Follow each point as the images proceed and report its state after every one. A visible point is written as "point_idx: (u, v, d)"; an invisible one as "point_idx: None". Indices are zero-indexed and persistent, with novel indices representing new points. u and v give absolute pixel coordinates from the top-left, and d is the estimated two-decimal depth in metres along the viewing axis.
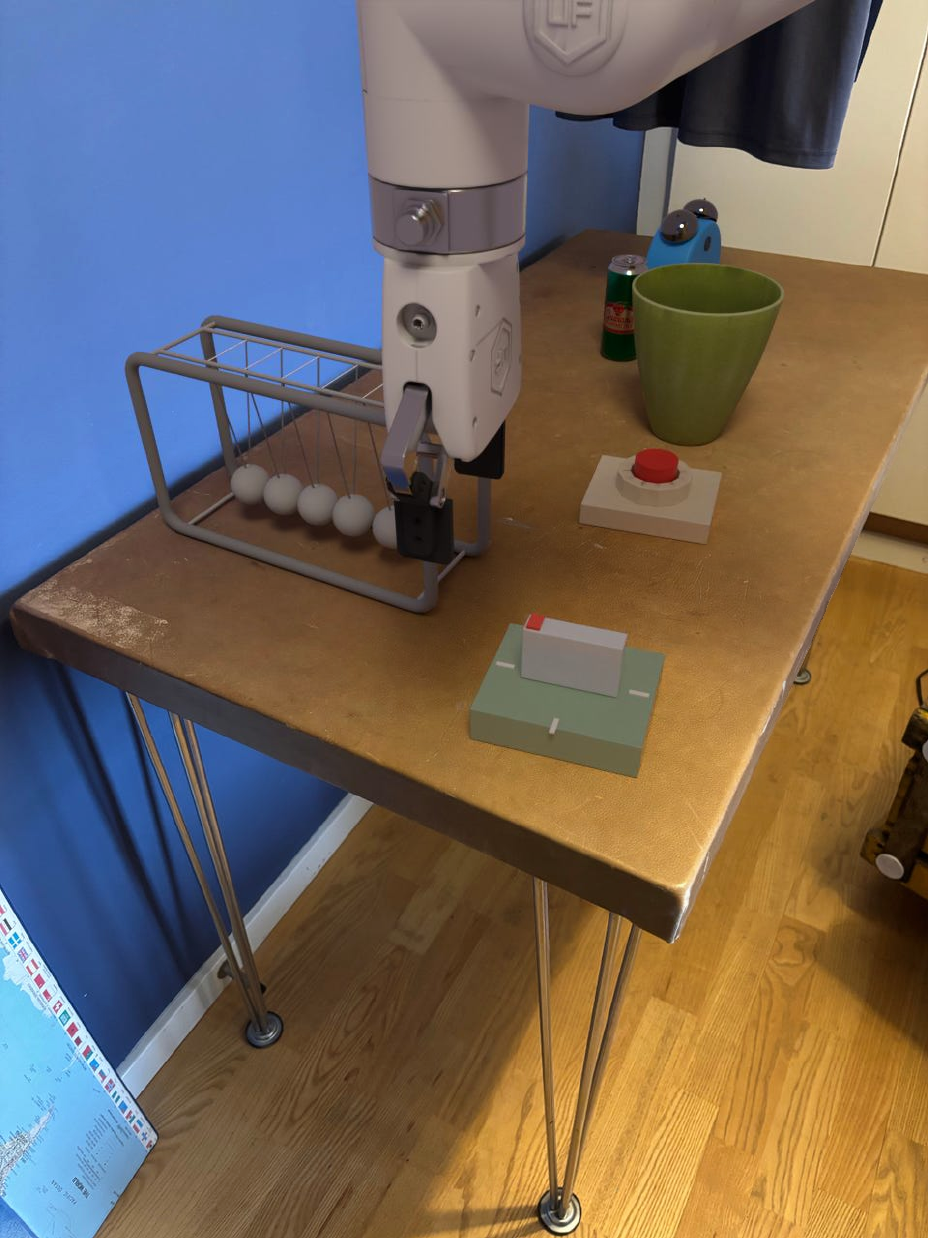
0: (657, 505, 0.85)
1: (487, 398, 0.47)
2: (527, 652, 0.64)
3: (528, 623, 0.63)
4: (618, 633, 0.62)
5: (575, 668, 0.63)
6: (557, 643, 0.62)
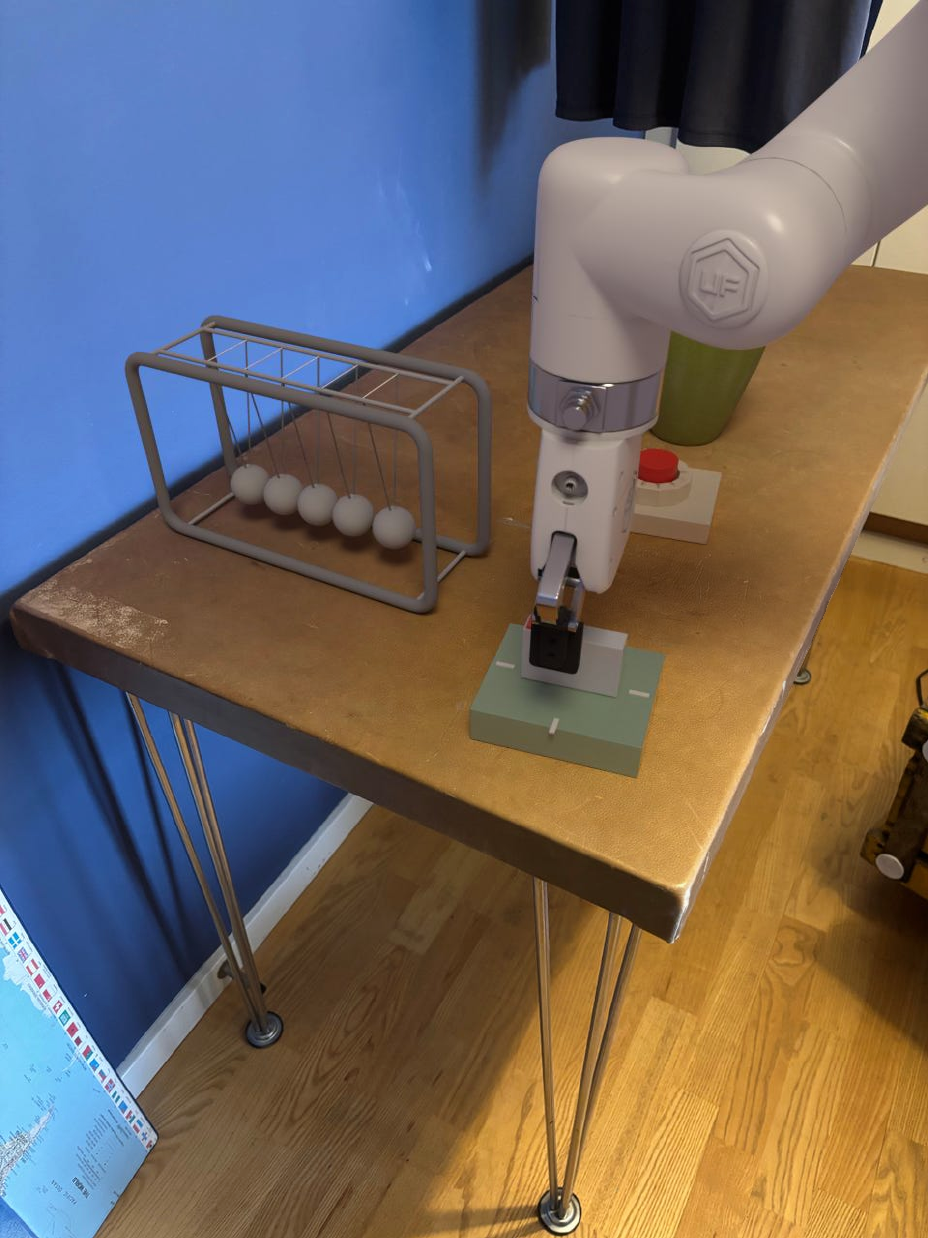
0: (657, 505, 0.85)
1: (619, 539, 0.54)
2: (527, 652, 0.64)
3: (528, 623, 0.63)
4: (618, 633, 0.62)
5: None
6: None
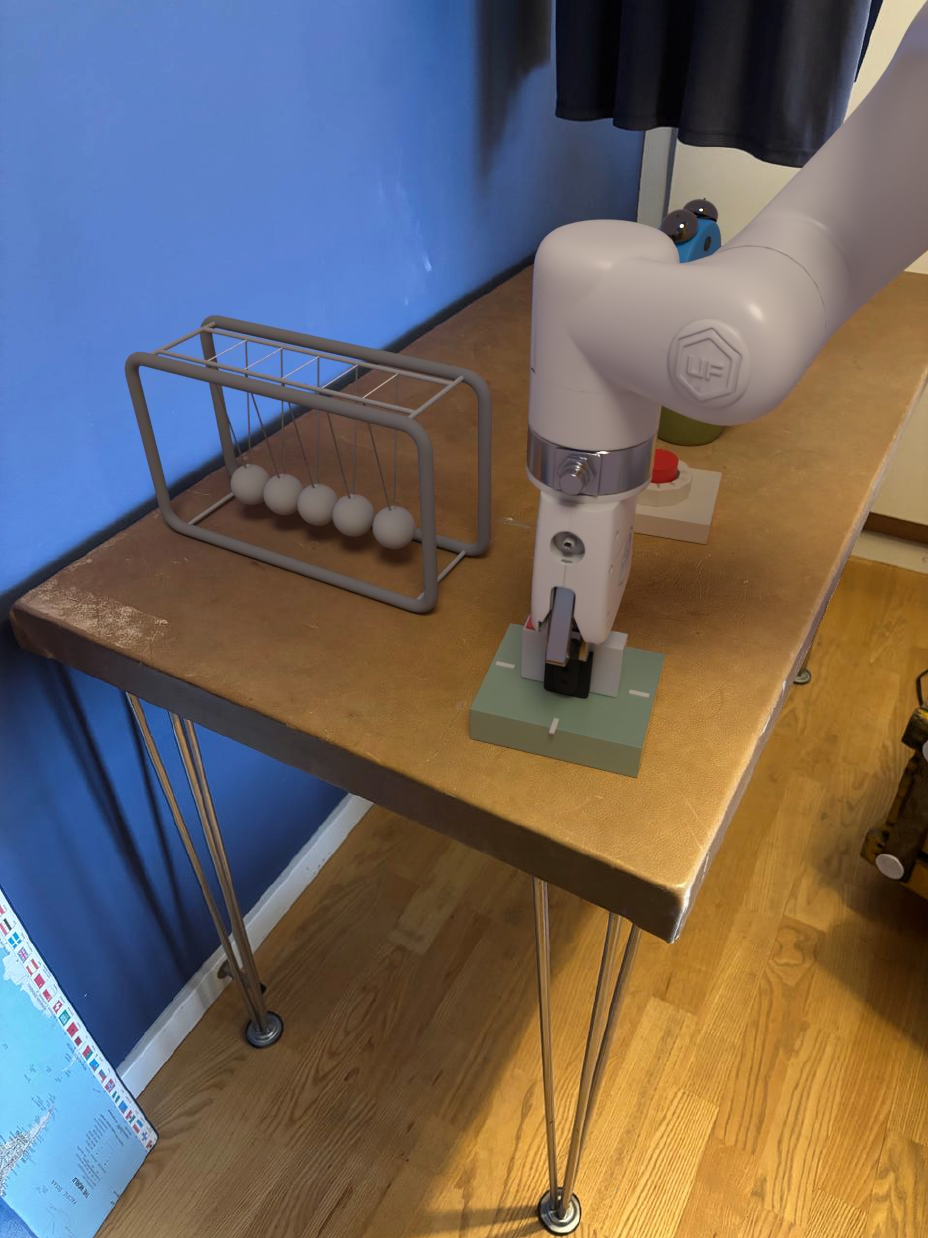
0: (657, 505, 0.85)
1: (616, 593, 0.56)
2: (527, 652, 0.64)
3: (528, 623, 0.63)
4: (618, 633, 0.62)
5: None
6: None
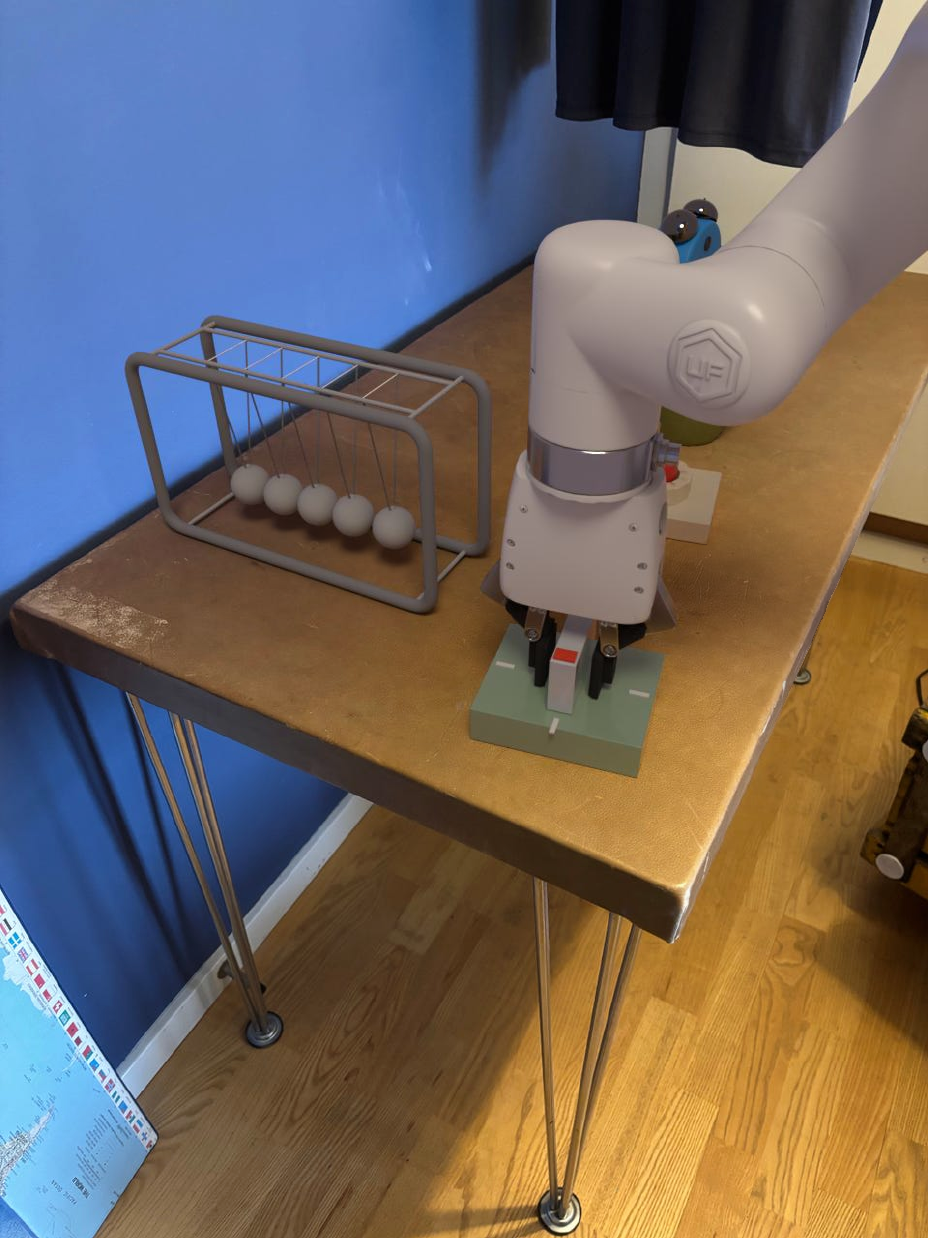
0: None
1: None
2: (575, 684, 0.61)
3: (570, 659, 0.60)
4: None
5: (586, 658, 0.64)
6: (584, 649, 0.62)
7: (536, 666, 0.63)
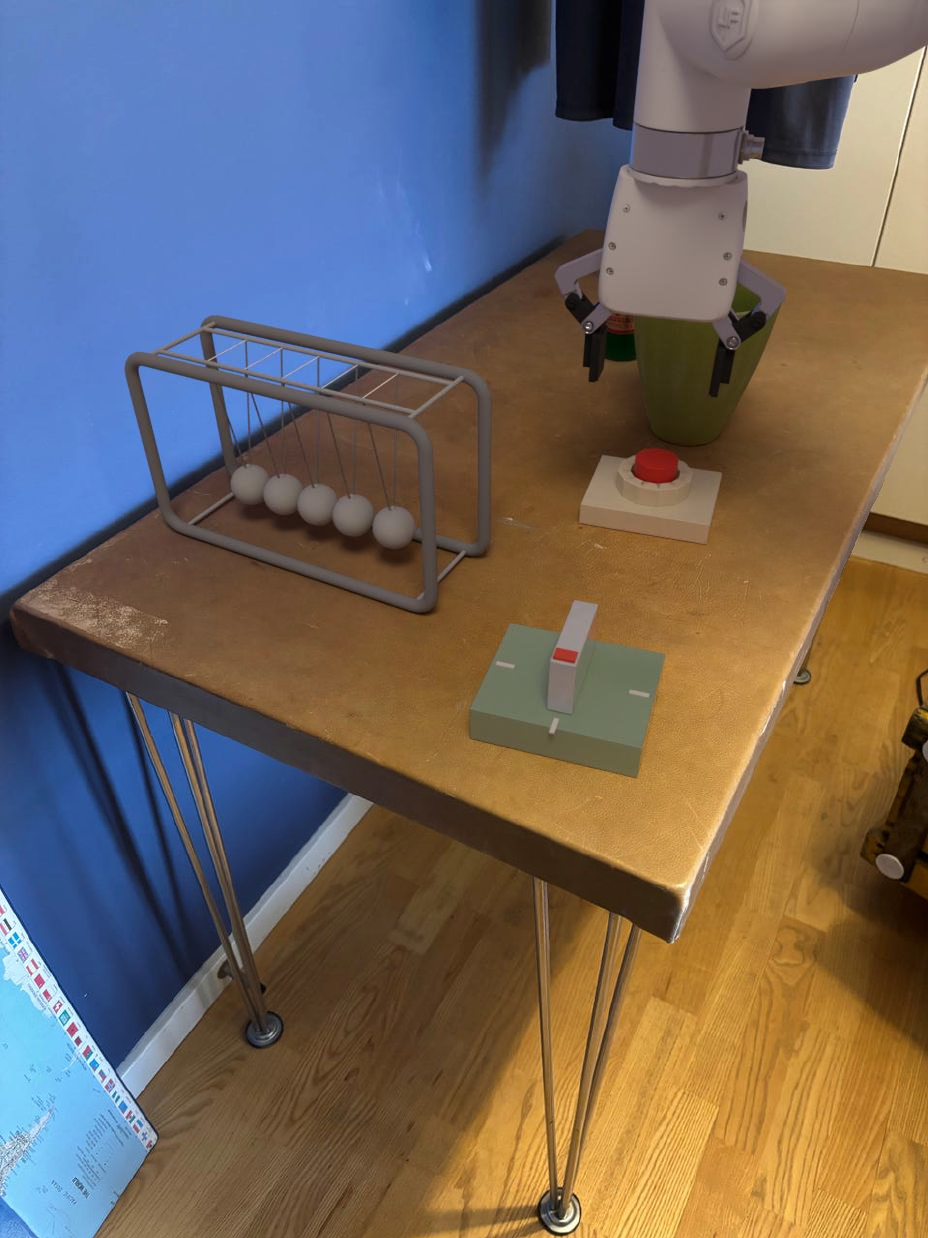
0: (657, 505, 0.85)
1: None
2: (575, 684, 0.61)
3: (570, 659, 0.60)
4: (575, 604, 0.65)
5: (586, 658, 0.64)
6: (584, 649, 0.62)
7: (591, 359, 0.73)
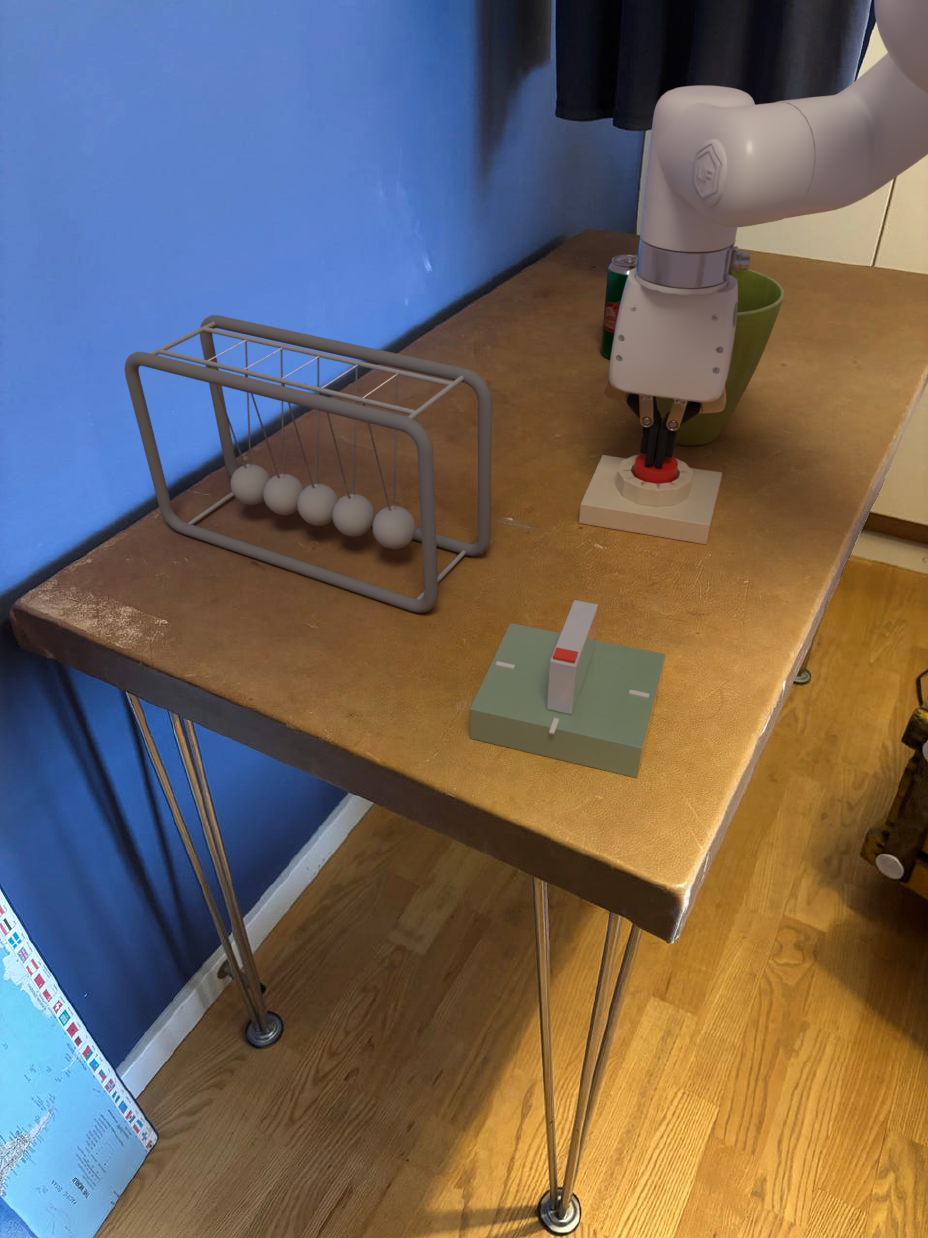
0: (657, 505, 0.85)
1: None
2: (575, 684, 0.61)
3: (570, 659, 0.60)
4: (575, 604, 0.65)
5: (586, 658, 0.64)
6: (584, 649, 0.62)
7: (648, 448, 0.84)
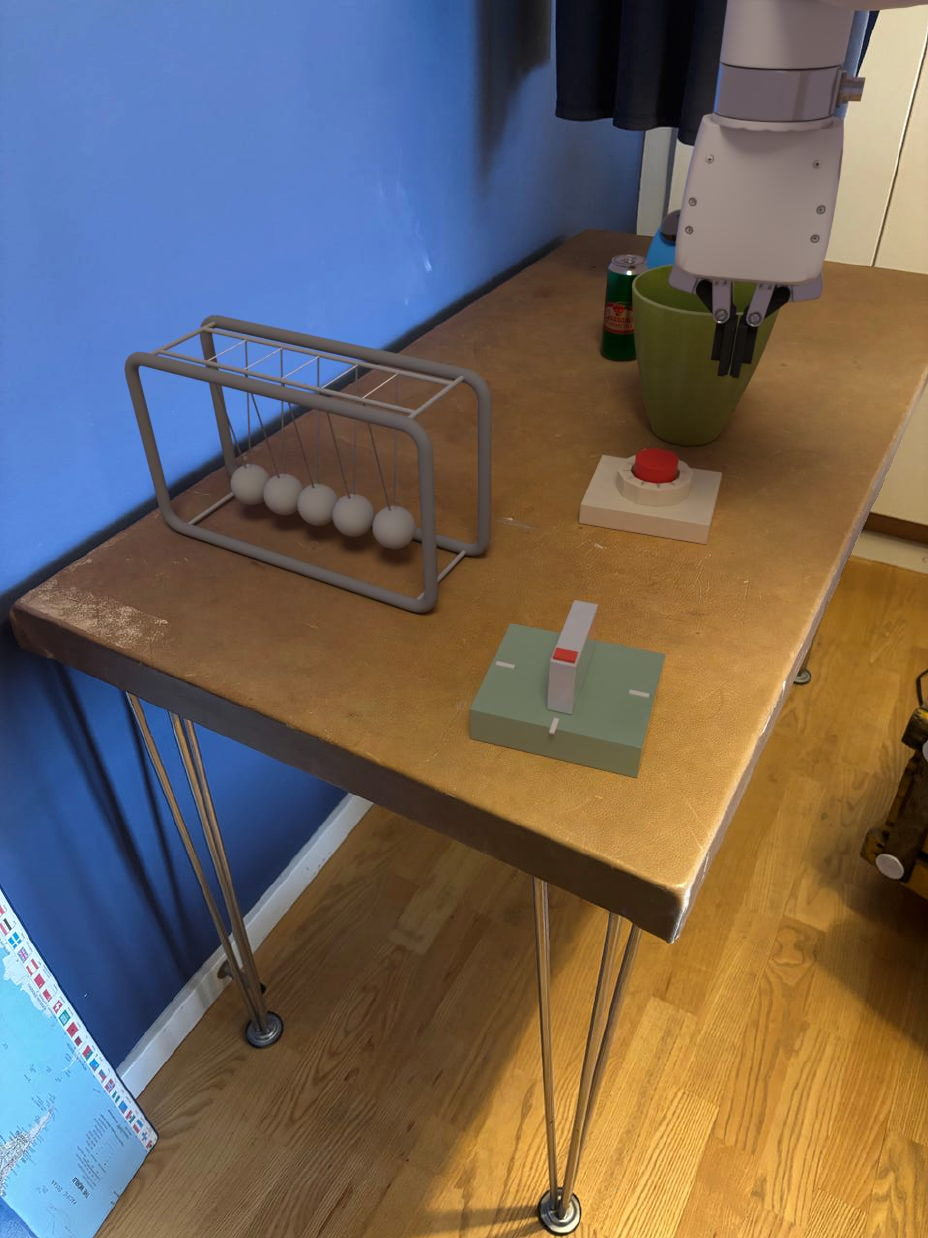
0: (657, 505, 0.85)
1: None
2: (575, 684, 0.61)
3: (570, 659, 0.60)
4: (575, 604, 0.65)
5: (586, 658, 0.64)
6: (584, 649, 0.62)
7: (722, 351, 0.67)
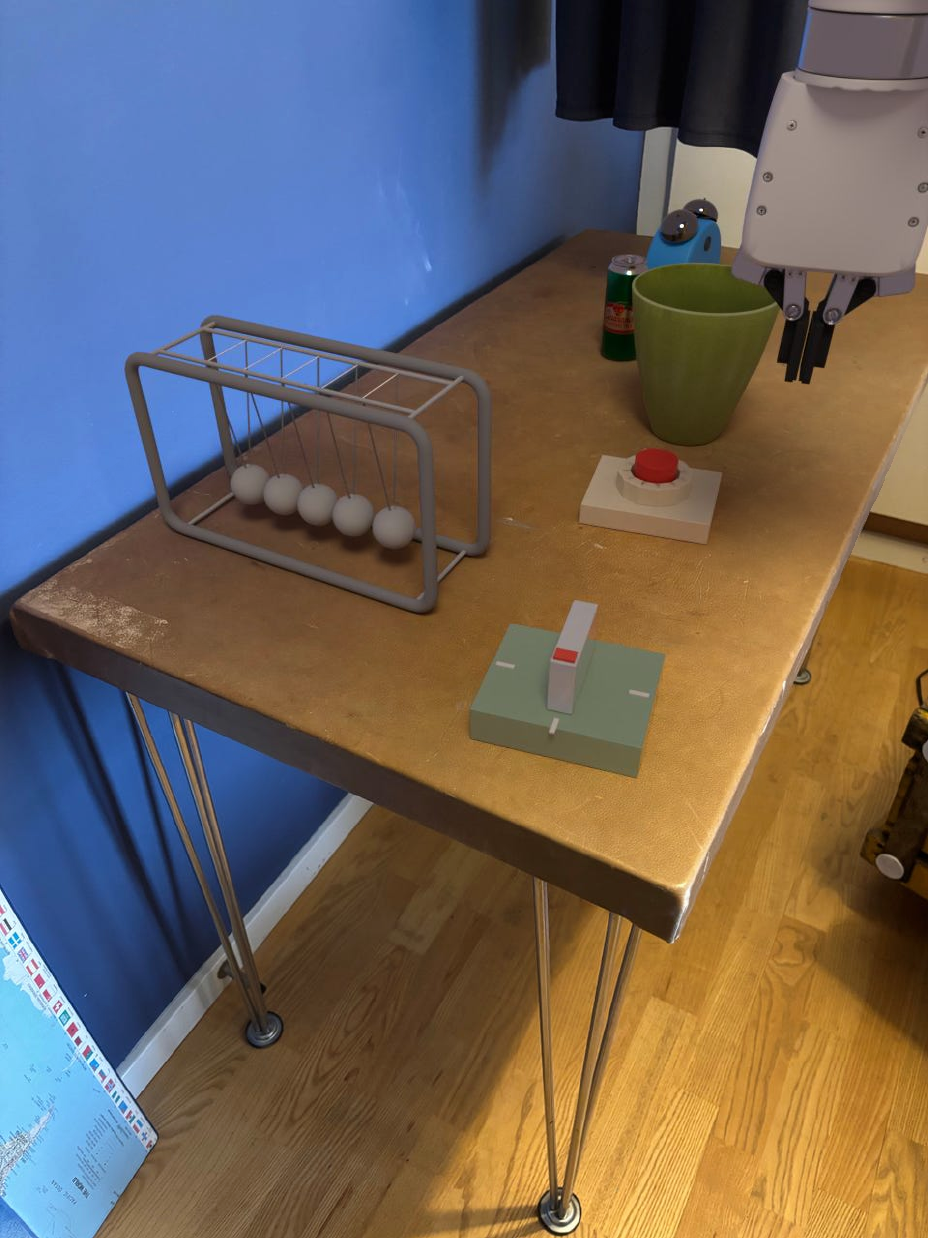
0: (657, 505, 0.85)
1: None
2: (575, 684, 0.61)
3: (570, 659, 0.60)
4: (575, 604, 0.65)
5: (586, 658, 0.64)
6: (584, 649, 0.62)
7: (792, 353, 0.58)
